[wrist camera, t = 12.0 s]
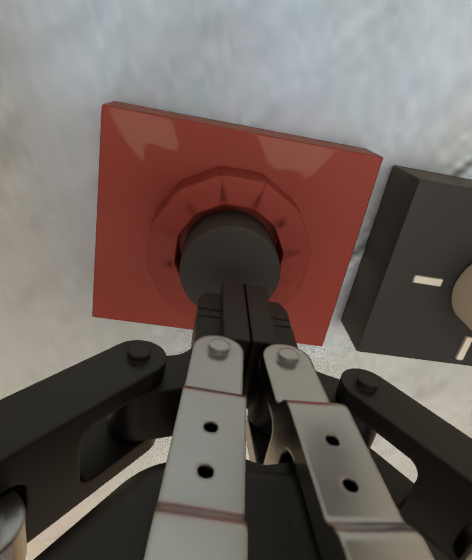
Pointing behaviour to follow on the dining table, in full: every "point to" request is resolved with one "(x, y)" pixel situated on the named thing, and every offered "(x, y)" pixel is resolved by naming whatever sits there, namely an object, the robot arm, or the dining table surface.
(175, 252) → the button housing
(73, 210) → the dining table surface
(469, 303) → the knob
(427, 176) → the control panel
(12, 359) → the dining table surface
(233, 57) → the dining table surface
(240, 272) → the button
